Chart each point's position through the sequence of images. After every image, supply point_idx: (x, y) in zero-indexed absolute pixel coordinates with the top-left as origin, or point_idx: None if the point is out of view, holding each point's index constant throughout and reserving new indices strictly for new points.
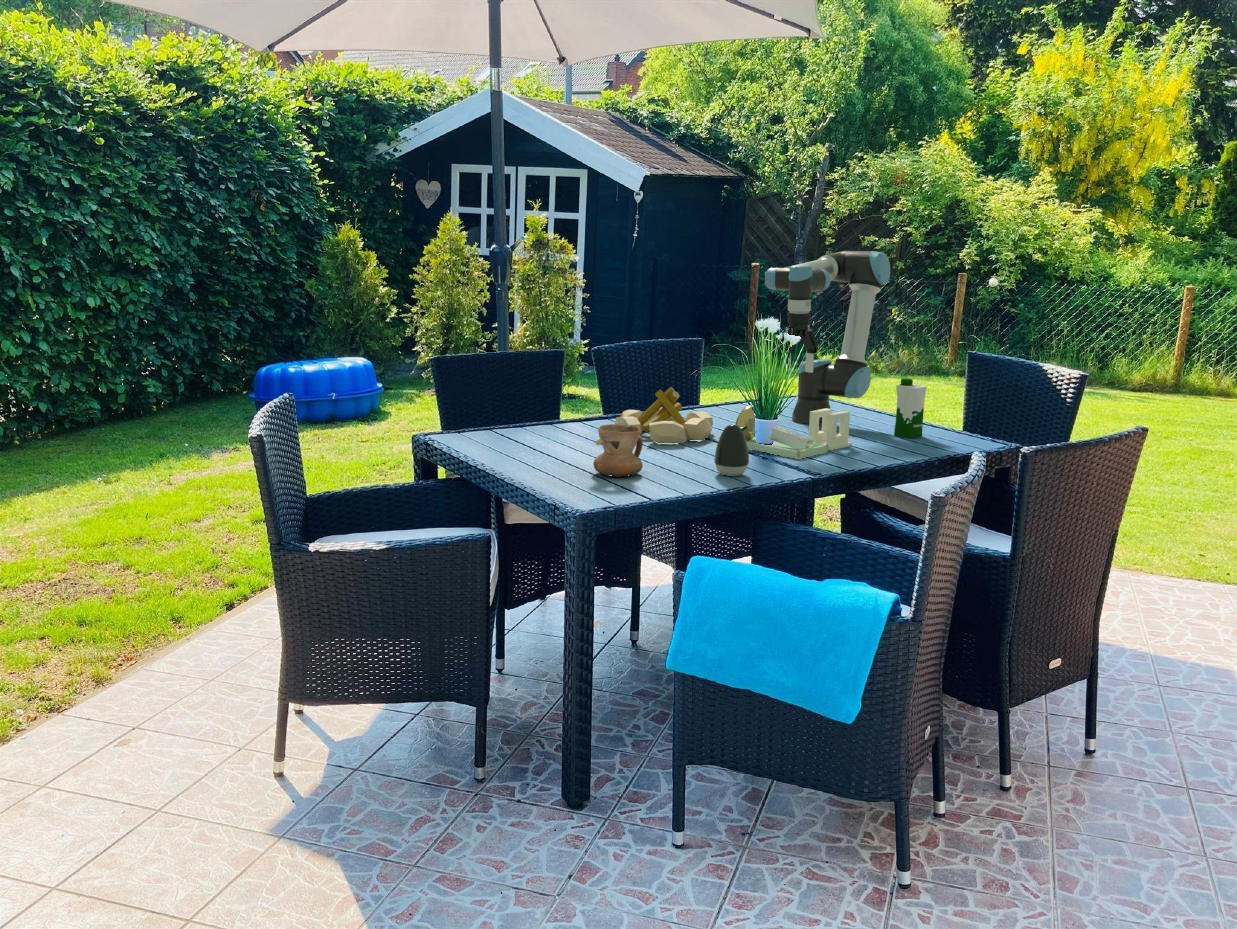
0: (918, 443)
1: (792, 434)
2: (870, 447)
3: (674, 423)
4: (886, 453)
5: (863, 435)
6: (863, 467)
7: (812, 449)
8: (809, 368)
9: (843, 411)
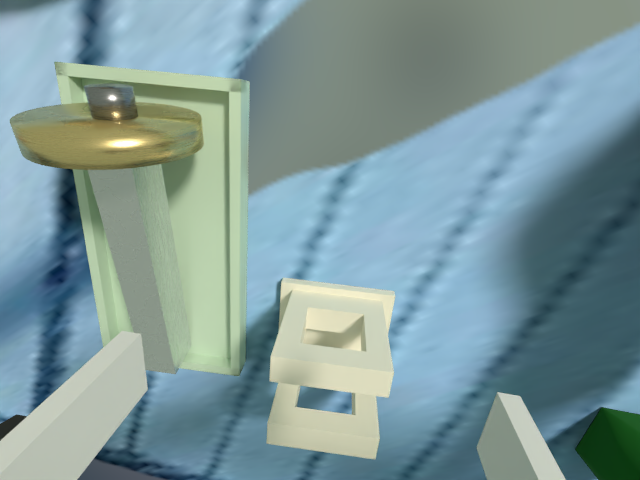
0: None
1: (139, 326)
2: (385, 412)
3: None
4: (341, 456)
5: (554, 344)
6: (174, 462)
7: None
8: (497, 465)
9: (366, 442)
